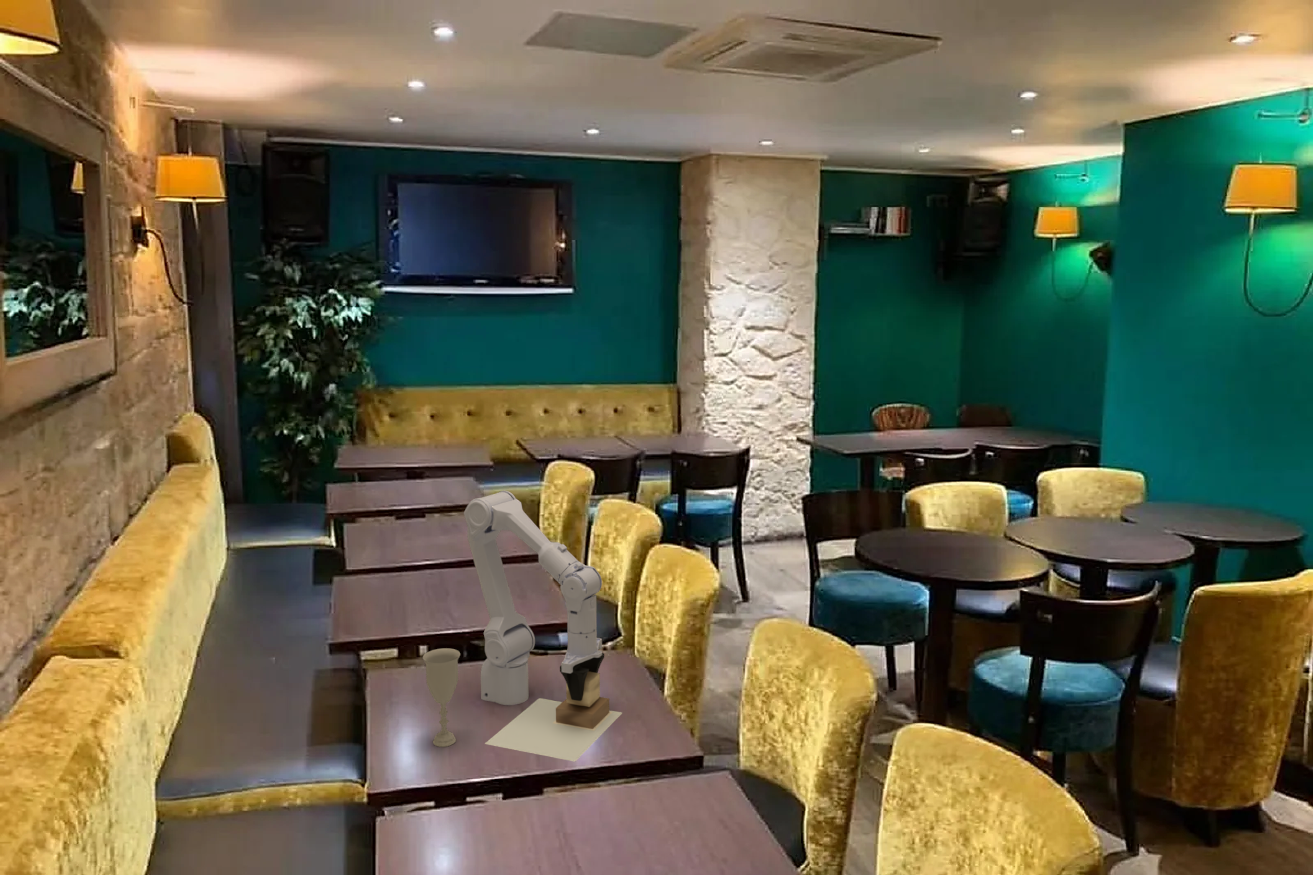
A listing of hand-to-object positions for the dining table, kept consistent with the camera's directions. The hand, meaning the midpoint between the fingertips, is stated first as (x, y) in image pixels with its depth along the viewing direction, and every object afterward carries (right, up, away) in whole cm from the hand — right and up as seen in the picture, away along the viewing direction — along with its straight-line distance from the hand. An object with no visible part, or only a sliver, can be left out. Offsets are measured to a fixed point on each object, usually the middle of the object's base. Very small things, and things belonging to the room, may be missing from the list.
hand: (582, 694), depth 200 cm
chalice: (-26, -8, -9) cm, 28 cm away
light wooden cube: (0, -1, 0) cm, 1 cm away
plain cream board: (-5, -6, -3) cm, 9 cm away
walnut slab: (0, -5, +1) cm, 5 cm away
